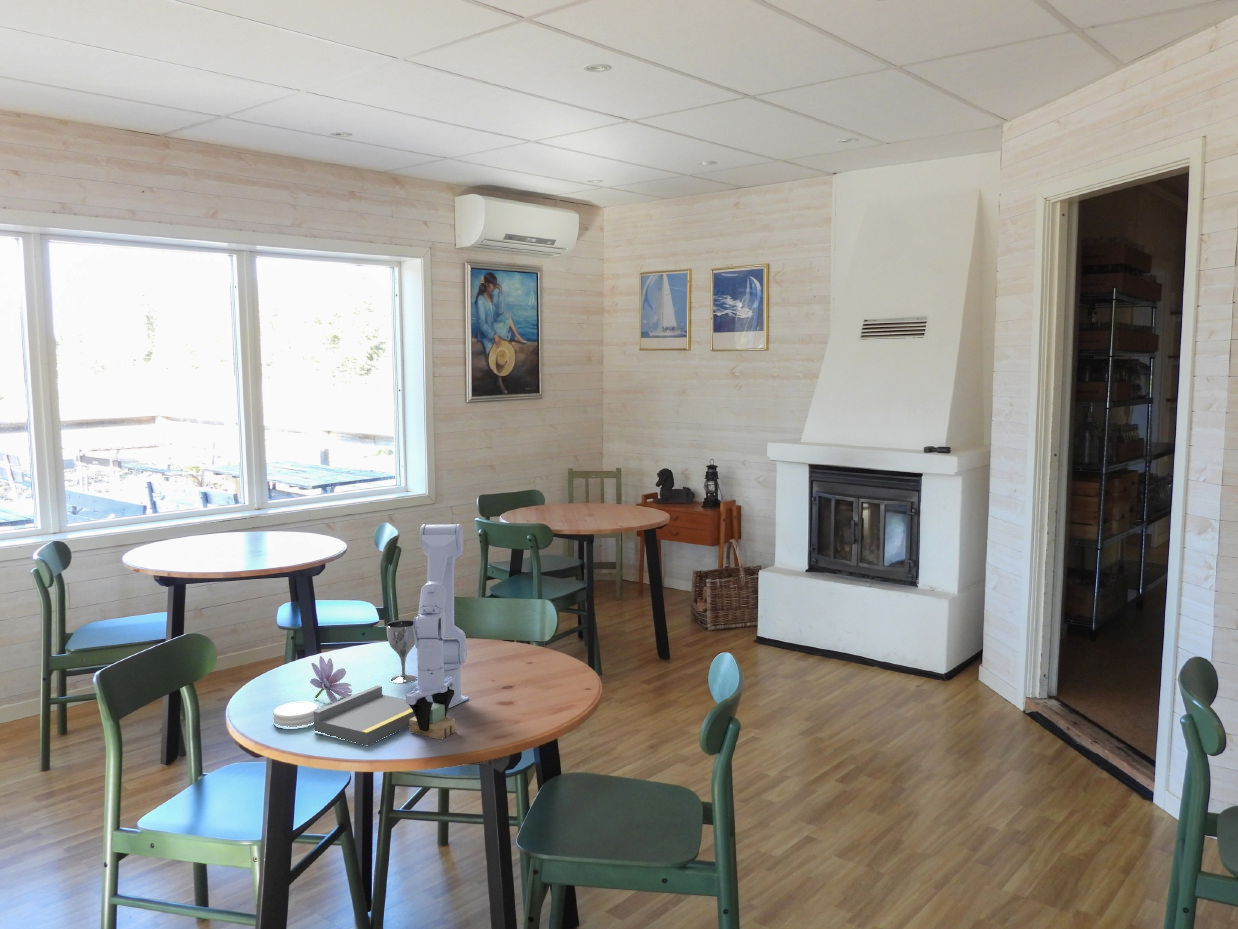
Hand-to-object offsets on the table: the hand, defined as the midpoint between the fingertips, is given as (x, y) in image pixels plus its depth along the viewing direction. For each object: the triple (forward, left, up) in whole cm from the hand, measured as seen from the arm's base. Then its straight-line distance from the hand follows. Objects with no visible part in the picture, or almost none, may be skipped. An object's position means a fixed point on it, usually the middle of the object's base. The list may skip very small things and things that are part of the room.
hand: (432, 726), depth 210 cm
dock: (-15, -3, -1) cm, 15 cm away
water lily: (-35, +4, -2) cm, 35 cm away
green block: (0, 0, +2) cm, 2 cm away
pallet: (0, 0, -1) cm, 1 cm away
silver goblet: (-31, +25, -2) cm, 40 cm away
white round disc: (-32, -10, -2) cm, 34 cm away
